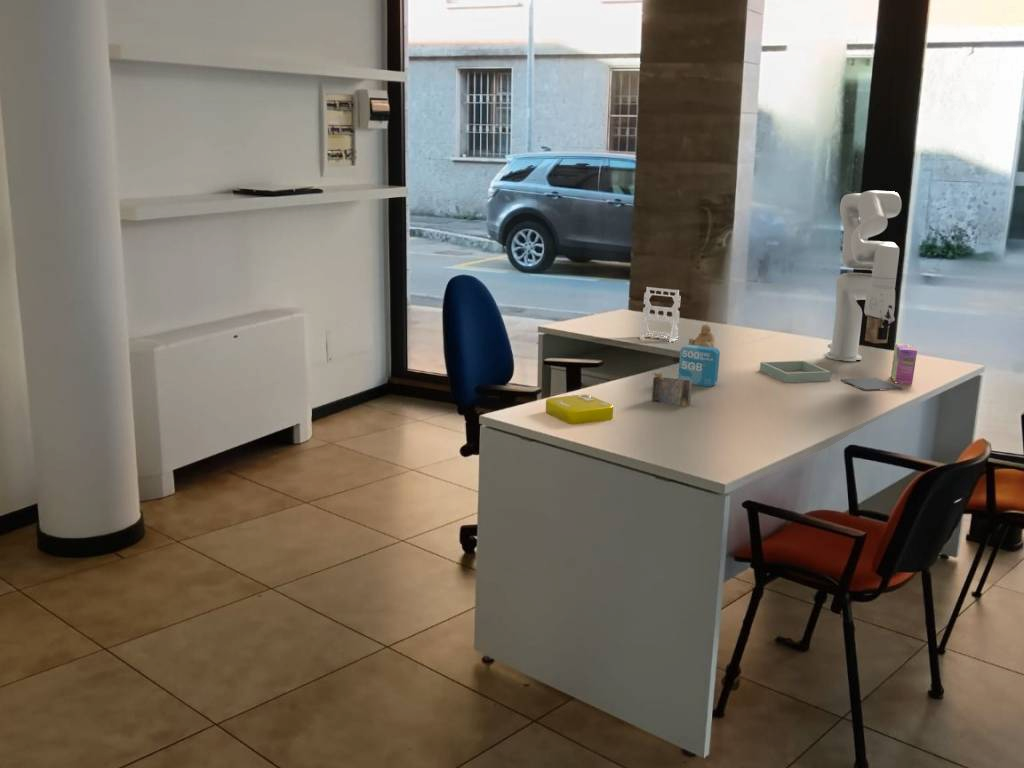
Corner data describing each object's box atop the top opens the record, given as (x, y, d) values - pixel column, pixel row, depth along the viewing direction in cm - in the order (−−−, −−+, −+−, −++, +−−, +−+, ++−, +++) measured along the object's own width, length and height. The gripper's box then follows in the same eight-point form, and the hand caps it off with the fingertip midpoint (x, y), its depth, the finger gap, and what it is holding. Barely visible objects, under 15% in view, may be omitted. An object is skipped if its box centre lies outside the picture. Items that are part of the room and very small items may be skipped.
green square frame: (759, 370, 365) (760, 362, 364) (802, 368, 370) (803, 360, 369) (785, 382, 349) (786, 373, 348) (830, 380, 354) (831, 371, 353)
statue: (731, 331, 377) (713, 325, 371) (720, 368, 378) (702, 363, 372) (706, 325, 387) (688, 319, 380) (695, 362, 388) (677, 357, 381)
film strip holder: (682, 337, 416) (686, 287, 411) (672, 344, 404) (676, 292, 399) (647, 333, 421) (650, 284, 417) (636, 339, 409) (640, 288, 404)
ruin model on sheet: (651, 403, 319) (653, 371, 316) (653, 400, 322) (655, 369, 319) (688, 407, 315) (690, 376, 313) (690, 405, 318) (692, 374, 315)
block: (864, 340, 348) (867, 316, 346) (877, 339, 349) (880, 316, 347) (874, 343, 343) (876, 319, 341) (887, 342, 345) (890, 318, 343)
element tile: (542, 412, 304) (543, 396, 302) (586, 407, 311) (586, 391, 310) (571, 426, 291) (571, 410, 290) (615, 420, 298) (616, 404, 297)
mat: (840, 380, 354) (840, 379, 354) (875, 379, 358) (876, 377, 358) (865, 390, 341) (865, 389, 341) (901, 389, 345) (902, 387, 345)
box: (912, 384, 352) (917, 350, 350) (894, 383, 354) (899, 348, 351) (907, 377, 362) (912, 344, 359) (890, 376, 363) (894, 342, 361)
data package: (677, 382, 344) (680, 346, 341) (681, 379, 348) (684, 343, 345) (713, 387, 339) (716, 350, 336) (717, 384, 343) (720, 348, 340)
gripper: (857, 278, 348) (851, 333, 353) (889, 286, 333) (882, 343, 337) (877, 278, 351) (870, 332, 355) (909, 286, 335) (902, 342, 339)
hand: (876, 337), depth 346 cm, fingers closed on block, 5 cm apart
